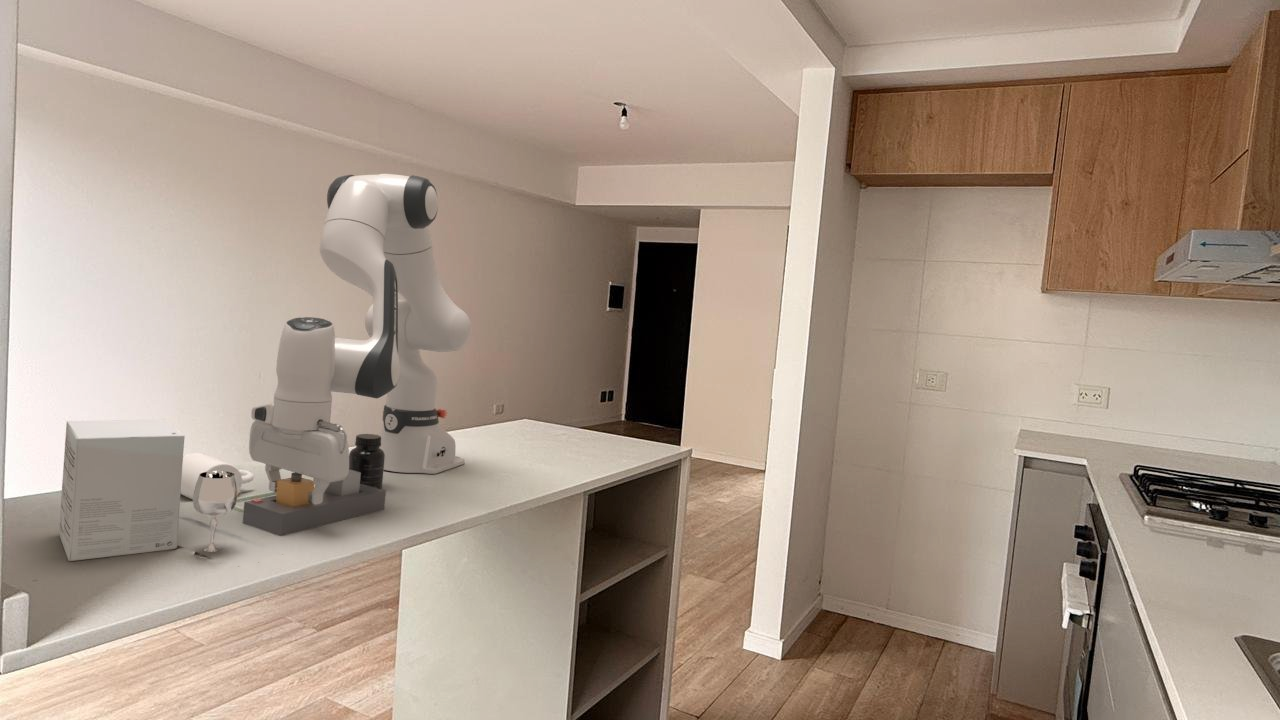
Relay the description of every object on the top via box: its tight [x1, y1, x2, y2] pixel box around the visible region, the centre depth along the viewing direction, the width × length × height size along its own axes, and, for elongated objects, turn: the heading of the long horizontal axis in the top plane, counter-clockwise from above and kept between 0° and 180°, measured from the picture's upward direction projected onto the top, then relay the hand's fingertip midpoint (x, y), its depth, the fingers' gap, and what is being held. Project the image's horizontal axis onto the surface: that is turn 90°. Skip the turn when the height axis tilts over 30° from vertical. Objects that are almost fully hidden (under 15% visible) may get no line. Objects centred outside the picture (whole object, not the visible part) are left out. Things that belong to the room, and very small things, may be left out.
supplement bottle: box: [349, 433, 385, 490], centre depth 152 cm, size 7×7×12 cm
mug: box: [180, 452, 255, 501], centre depth 139 cm, size 12×10×8 cm
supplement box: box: [58, 418, 186, 562], centre depth 113 cm, size 13×13×18 cm
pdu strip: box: [242, 484, 387, 537], centre depth 132 cm, size 22×9×5 cm, turn 154°
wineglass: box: [192, 471, 238, 559], centre depth 113 cm, size 6×6×12 cm
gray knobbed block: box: [325, 469, 361, 497], centre depth 136 cm, size 4×4×8 cm
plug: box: [275, 472, 315, 507], centre depth 127 cm, size 4×4×8 cm
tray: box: [232, 491, 277, 513], centre depth 135 cm, size 11×9×2 cm
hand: (295, 497), depth 127 cm, fingers open, 8 cm apart
